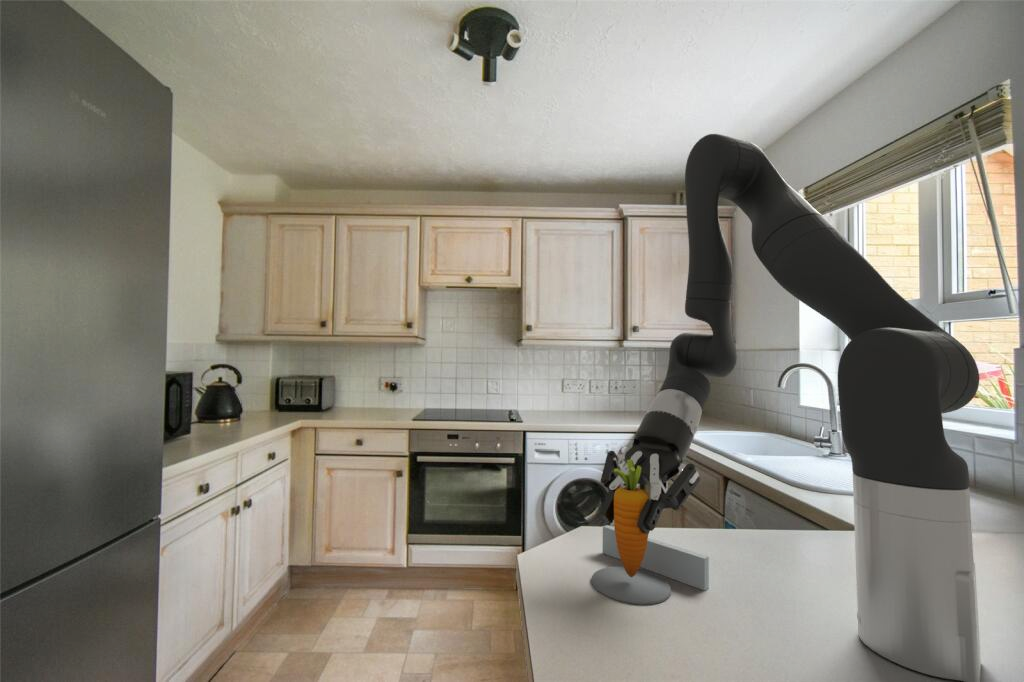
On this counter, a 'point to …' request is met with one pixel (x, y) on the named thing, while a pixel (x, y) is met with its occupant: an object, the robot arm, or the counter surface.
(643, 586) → the rest mat
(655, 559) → the low wall
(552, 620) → the counter surface
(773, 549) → the counter surface
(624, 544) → the carrot
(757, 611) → the counter surface
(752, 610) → the counter surface
